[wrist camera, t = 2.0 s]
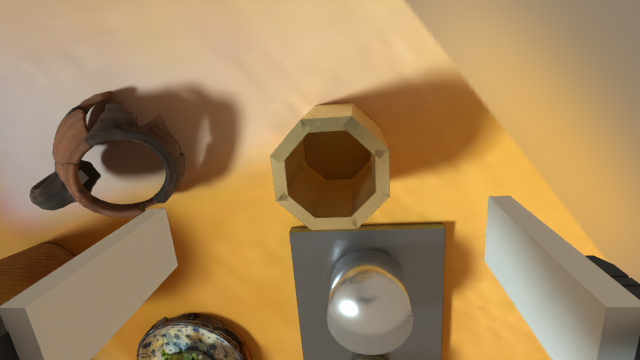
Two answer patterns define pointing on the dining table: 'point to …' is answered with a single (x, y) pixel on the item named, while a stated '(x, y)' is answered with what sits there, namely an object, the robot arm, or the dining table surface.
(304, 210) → the sleeve
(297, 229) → the plate
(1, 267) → the disposable coffee cup
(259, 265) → the dining table surface
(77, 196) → the pottery mug
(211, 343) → the burger
